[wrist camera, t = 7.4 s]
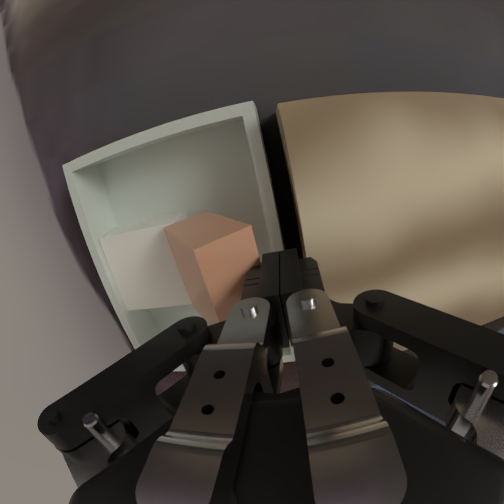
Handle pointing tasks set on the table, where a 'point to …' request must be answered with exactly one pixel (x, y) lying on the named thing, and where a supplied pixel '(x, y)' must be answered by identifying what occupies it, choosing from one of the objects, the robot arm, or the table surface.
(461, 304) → the birch board
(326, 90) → the table surface
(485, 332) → the robot arm
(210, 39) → the table surface
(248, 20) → the table surface
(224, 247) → the terracotta tile
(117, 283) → the white tile
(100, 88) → the table surface
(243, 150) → the grey tray
